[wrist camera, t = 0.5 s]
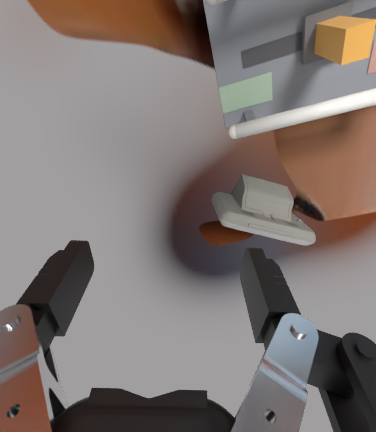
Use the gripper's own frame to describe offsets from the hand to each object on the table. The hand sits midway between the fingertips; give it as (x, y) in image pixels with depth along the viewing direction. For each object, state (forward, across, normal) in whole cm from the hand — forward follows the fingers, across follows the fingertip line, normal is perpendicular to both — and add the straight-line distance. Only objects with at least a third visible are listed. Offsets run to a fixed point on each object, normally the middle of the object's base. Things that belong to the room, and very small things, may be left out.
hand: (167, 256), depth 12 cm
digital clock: (+29, -14, +12) cm, 34 cm away
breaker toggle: (+20, -14, -12) cm, 27 cm away
